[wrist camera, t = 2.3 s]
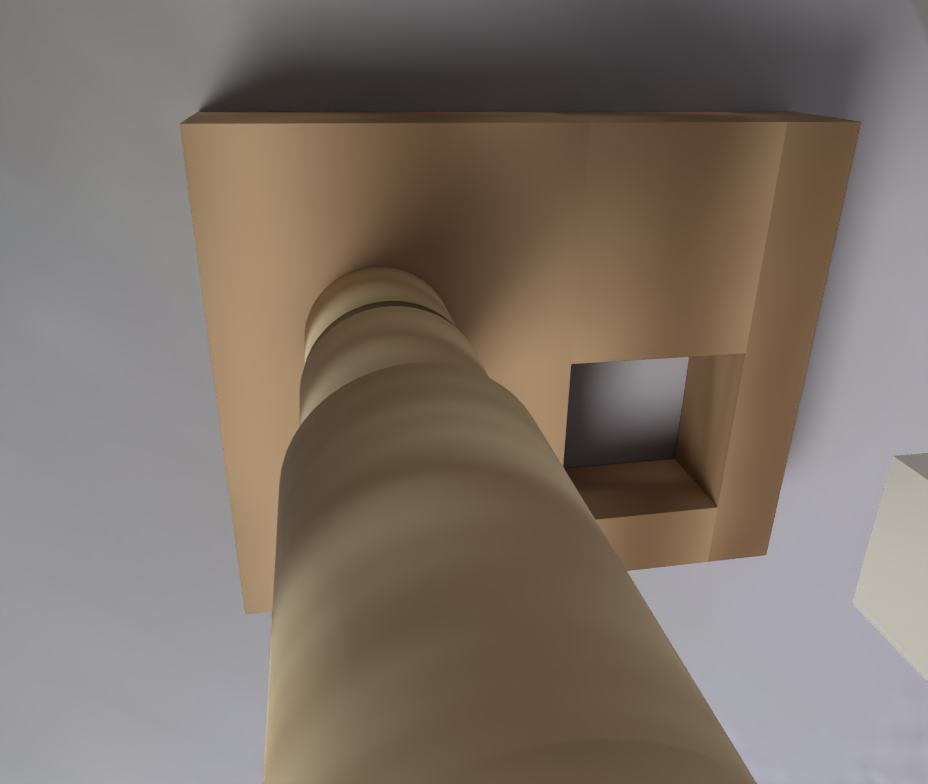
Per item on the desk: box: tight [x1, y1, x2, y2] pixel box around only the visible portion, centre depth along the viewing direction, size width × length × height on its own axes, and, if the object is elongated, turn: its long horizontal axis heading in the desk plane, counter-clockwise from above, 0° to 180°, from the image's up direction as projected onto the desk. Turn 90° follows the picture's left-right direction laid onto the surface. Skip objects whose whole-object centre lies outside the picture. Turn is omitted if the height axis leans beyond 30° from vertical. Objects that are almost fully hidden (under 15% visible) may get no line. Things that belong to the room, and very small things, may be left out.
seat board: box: [180, 112, 861, 614], centre depth 21 cm, size 16×13×3 cm
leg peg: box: [263, 267, 757, 784], centre depth 12 cm, size 4×4×14 cm
